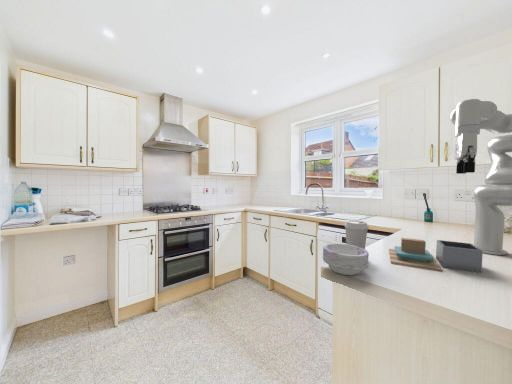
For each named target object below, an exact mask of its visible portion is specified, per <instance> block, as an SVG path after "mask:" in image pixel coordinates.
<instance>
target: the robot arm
mask: <svg viewBox="0 0 512 384" xmlns="http://www.w3.org/2000/svg"><path fill="white" fill-rule="evenodd" d="M450 121H451V123H452V124H453V125H454V126H455V127H454V129H455V130H454V137H456V140H455V146H454V155H453V156H454V160H456V161H457V162H456V170H455V171H456V174H457V175H459V174H464V175H465V174H467V173H469V174H470V173H475V171H476V157H477V153H478V135H480V133H481V130H486V131H487V132H490V133H493V134H496V135H498V134H499V136H495V137H492V138H491V139H489V140H488V141H487V144H486V145H487V146H486V147H487V153H488V156H489V159H490V165H489V168H488V170H487V173H486V174H485V178H484V182H485V184H482V185H478V186H477V187H475V189H474V190H473V199H474V204H475V214H474V215H475V219H474V236H473V245H475V246H476V247H478V248H479V249H481V250H482V251H483V254H488V255H497V256H506V255H508V251H507V250H505V249H503V248H504V247H503V246H504V231H505V230H504V228H505V214H504V212H503V211H502V209H501V208H499V207H500V206H502V207H503V206H504V207H512V156H510V155H509V154H507V153H512V134H509V133H512V113H510V114H506V113H504V112H502V111H501V110H498V107H497V105H496V104H495V103H494V102H493V101H491V100H481V99H479V98H469V99H465V100H462V101H459V102H458V103H457V104H456V108H454V109H453V110H452V111H451V113H450ZM500 134H506V135H500Z"/></svg>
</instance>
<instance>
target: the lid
mask: <svg viewBox="0 0 512 384" xmlns="http://www.w3.org/2000/svg"><path fill="white" fill-rule="evenodd" d="M426 243H427V241H426V240H424V239H417V238H408V237H401V239H400V246H398V245H395V246H394V249H395V251H396V255H397V256H400V258H401V259H406V260H413V261H420V262H428V260H432V261H434V258H435V257H434V255H433V254H432V253H431V252H430V251H429V250H428V249H426V245H427V244H426ZM431 254H432V255H431ZM433 257H434V258H433Z"/></svg>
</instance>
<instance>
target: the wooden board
mask: <svg viewBox="0 0 512 384" xmlns="http://www.w3.org/2000/svg"><path fill="white" fill-rule="evenodd" d="M388 253H389V260H390V264H394V265H399V266H400V265H401V266H408V267H413V268H418V269H424V270H431V271H437V272H438V271H439V272H443V267H442V266H441V265H440V263H439V262H438V261H437V259H436V257H434V256H433V254H432V253H430V254H431V255H432V256H433V258H434V261H432V260H428V262H420V261H413V260H406V259H401V258H400V256H397V255H396V251H395V248H388Z"/></svg>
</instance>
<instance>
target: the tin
mask: <svg viewBox="0 0 512 384" xmlns="http://www.w3.org/2000/svg"><path fill="white" fill-rule="evenodd" d="M483 254H484V253H483V251H482V250H481V249H479V248H478V247H476V246H475V245H474V243H468V242H461V241H459V242H458V241H451V240H441V239H436V249H435V260H436V261H437V262H438V264H439V265H440V267H441V268H447V269H453V270H458V271H459V270H460V271H467V272H473V273H478V274H479V273H480V274H482V269H483Z"/></svg>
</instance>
